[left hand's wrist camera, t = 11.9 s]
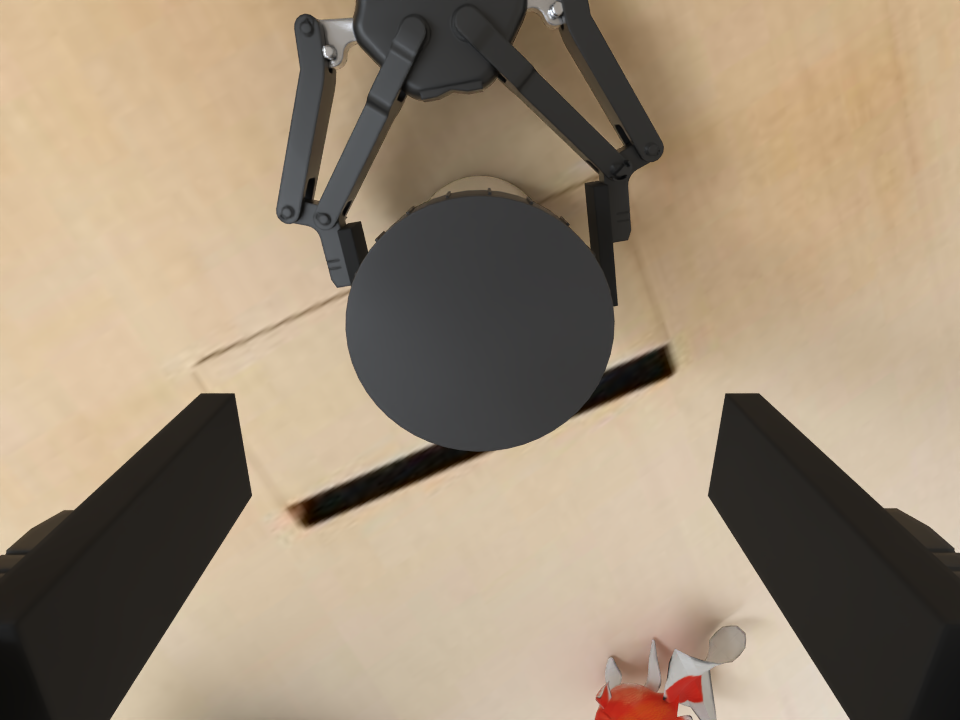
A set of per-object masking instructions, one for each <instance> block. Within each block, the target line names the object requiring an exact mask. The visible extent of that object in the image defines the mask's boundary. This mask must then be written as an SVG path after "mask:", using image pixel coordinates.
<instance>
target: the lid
mask: <svg viewBox="0 0 960 720" xmlns="http://www.w3.org/2000/svg"><path fill="white" fill-rule="evenodd" d="M375 241H376V243H375V244H374V246H373V247H372V248H371V249H370V251H369V252H368V254H367V255H366V257H365V258H364V260H363V261H362V263H361V265H360V267H359V269H358V270H357V271H356V272H355V278H354V280H353V283H352V286H351V290H350V293H349V296H348V303H347V309H346V337H347V345H348V349H349V353H350V357H351V361H352V364H353V366H354V369H355V371H356V373H357V376H358V378H359V380H360V382H361V383H362V385H363V387H364V389H365V390H366V392H367V393H368V395H369V396H370V397H371V399H372V400H373V401H374V402H375V404H376V405H377V406H378V407H379V408H380V409H381V410H382V411H383V412H384V413H385V414H386V415H387V416H388V417H389V418H390V419H392V420H393V421H394V422H395V423H397V424H398V425H399V426H400V427H402V428H404V429H405V430H407V431H408V432H410V433H412V434H413V435H415V436H417V437H420V438H422V439H424V440H426V441H428V442H431V443H434V444H437V445H440V446H443V447H448V448H453V449H458V450H466V451H495V450H502V449H508V448H512V447H516V446H520V445H523V444H526V443H529V442H531V441H534V440H536V439H539V438H541V437H543V436H544V435H546V434H548V433H550V432H552V431H554V430H555V429H556V428H558V427H559V426H561V425H562V424H564V423H565V422H566V421H567V420H569V419H570V418H571V417H572V416H573V415H574V414H575V413H576V412H577V411H578V410H579V409H580V408H581V407H582V406H583V405H584V404H585V402H586V401H587V400H588V399H589V398H590V396H591V395H592V393H593V392H594V390H595V389H596V387H597V386H598V384H599V382H600V380H601V378H602V376H603V374H604V372H605V369H606V366H607V363H608V360H609V357H610V354H611V349H612V344H613V339H614V322H615V321H614V310H613V302H612V298H611V290H610V289H609V286H608V283H607V281H606V278H605V275H604V273H603V271H602V269H601V267H600V265H599V263H598V262H597V260H596V258H595V256H596V255H595V253H594V252H593V251H592V250H591V249H590V248H589V247H588V246H587V245H586V244H585V243H584V242H583V241H582V240H581V239H580V238H579V237H578V235H577V234H576V233H575V232H574V231H573V230H572V229H571V228H570V227H569V223H568V222H567V221H566V220H565V219H564V218H563V217H560V218H559V217H557V216H556V215H555V214H553V213H552V212H551V211H549V210H548V209H546V208H544V207H542V206H541V205H539V204H537V203H535V202H533V201H532V200H531V199H530V197H527V198H523V197H521V196H518V195H514V194H510V193H505V192H501V191H491V188H488V190H466V191H460V192H455V193H451V191H448V192H447V194H446V195H443V196H440V197H437V198H434V199H431V200H429V201H427V202H425V203H423V204H421V205H419V206H417V207H416V208H415V207H414V206H413V207H411V208H410V209H409V210H408V211H407V212H406V214H405V215H404V216H402V217H401V218H400V219H399V220H398V221H397V222H396V223H394V224H393V225H392V226H391V227H390V228H389V229H388V230H387V231H386V232H385V231H383V232H382V233H381V234H380V235H379V236H378V237H377V238H376V239H375Z"/></svg>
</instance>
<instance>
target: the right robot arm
mask: <svg viewBox="0 0 960 720" xmlns="http://www.w3.org/2000/svg"><path fill="white" fill-rule="evenodd" d="M526 12H535V13H537V14H538V15H539V16H540V17H541V19H542V21H543V23H544V24H545V25H546V27H548V28H550V29H556V28H559V31H560V34H561V37H562V39H563V41H564V43H565V45H566V47H567V49H568V51H569V52H570V54H571V56H572V58H573V59H574V61H575V63H576V64H577V66H578V68H579V70H580V71H581V73H582V75H583V76H584V78H585V80H586V81H587V83H588V85H589V87H590V88H591V90H592V92H593V93H594V95H595V97H596V99H597V100H598V102H599V104H600V105H601V107H602V109H603V110H604V112H605V114H606V116H607V117H608V119H609V121H610V122H611V124H612V126H613V128H614V129H615V131H616V133H617V134H618V136H619V138H620V139H621V141H622V143H623V145H624V146H623V147H621V148H620V149H618V150H616V149H615V148H614V147H613V146H612V145H611V144H609V143H608V142H607V141H606V140H605V139H604V138H603V137H602V136H601V135H600V134H599V133H598V132H597V131H596V130H595V129H594V128H593V127H592V126H591V125H590V124H589V123H588V122H587V121H586V120H585V119H584V118H583V117H582V116H581V115H580V114H579V113H578V112H577V111H576V110H575V109H574V108H573V107H572V106H571V105H570V104H569V103H568V102H567V101H566V100H565V99H564V98H563V97H562V96H561V95H560V94H559V93H558V92H557V91H556V90H555V89H554V88H553V87H552V86H551V85H550V84H549V83H548V82H547V81H546V80H545V79H543V78H542V77H541V76H540V75H539V74H538V72H537V71H536V70H535V69H534V67H533V66H532V65H531V64H530V63H529V62H528V61H527V60H526V59H525V58H524V57H523V56H522V55H521V54H520V53H519V52H518V51H517V50H516V49H515V48H514V47H513V46H512V44H513V42H514V40H515V38H516V35H517V33H518V31H519V29H520V27H521V25H522V22H523V20H524V18H525V15H526ZM294 30H295V37H296V43H297V50H298V57H299V63H300V74H299V79H298V85H297V91H296V97H295V103H294V109H293V115H292V120H291V126H290V132H289V138H288V144H287V150H286V155H285V161H284V167H283V173H282V179H281V185H280V190H279V196H278V202H277V208H276V214H277V216H278V218H279V219H280V220H281V221H282V222H284V223H286V224H292V223H295V224H301V225H306V226H310V227H312V228H314V229H315V230H316V231H317V232H318V234H319V236H320V238H321V242H322V246H323V250H324V254H325V257H326V261H327V265H328V269H329V272H330V276H331V280H332V281H333V283H334V284H335V285H336V287H337V288H339V287H345V286H352V283H353V280H354V278H355V272H356V271H357V270H358V269H359V267H360V265H361V263H362V261H363V260H364V258H365V257H366V255H367V254H368V249H367V245H366V241H365V237H364V232H363V228H362V224H361V221H359V222H353V223H348V224H346V222H345V220H346V218H347V217H346V215H347V213H348V211H349V209H350V207H351V205H352V203H353V201H354V199H355V197H356V195H357V193H358V191H359V189H360V187H361V185H362V183H363V181H364V179H365V177H366V175H367V173H368V171H369V169H370V167H371V165H372V163H373V161H374V159H375V157H376V155H377V153H378V151H379V149H380V147H381V145H382V143H383V141H384V139H385V137H386V135H387V133H388V131H389V129H390V127H391V125H392V123H393V121H394V119H395V117H396V116H397V114H398V113H399V111H400V109H401V107H402V105H403V103H404V101H405V99H406V97H407V95H409V96H410V97H412V98H414V99H416V100H420V101H424V102H429V101H434V100H439V99H441V98H443V97H445V96H447V95H449V94H451V93H462V94H473V93H478V92H483V90H484V89H486V88H488V87H489V86H490V85H491V84H492V83H493V82H494V81H495V80H496V78H498V79H499V80H500V81H501V82H502V83H503V84H504V85H505V86H506V87H507V88H508V89H509V90H510V91H511V92H513V93H514V94H515V95H517V96H518V97H519V98H520V99H521V100H522V101H523V102H524V103H525V104H526V105H527V106H528V107H529V108H530V109H531V110H532V111H533V112H534V113H535V114H536V115H538V116H539V117H540V118H541V119H542V120H543V121H544V122H545V123H546V124H547V125H548V126H549V127H550V128H551V129H552V130H553V131H554V132H555V133H556V134H557V135H558V136H559V137H560V138H561V139H562V140H564V141H565V142H566V143H567V144H568V145H569V146H570V147H571V148H572V149H573V150H574V151H575V152H576V153H577V154H578V155H579V156H580V157H581V158H582V159H583V160H584V161H585V162H586V163H587V164H588V165H590V166H591V167H592V168H593V169H594V170H595V171H596V172H597V173H598V174H599V181H595V182H589V183H585V193H586V203H587V214H588V224H589V235H590V246H591V250H592V251H593V252H594V253H595V255H596V256H595V258H596V260H597V262H598V263H599V265H600V267H601V269H602V271H603V273H604V275H605V278H606V281H607V283H608V286H609V289H610V290H611V298H612V302H613V306H618V302H617V289H616V277H615V264H614V252H613V242H619V241H626V240H628V238H629V235H630V232H631V222H630V207H629V193H628V181H629V178H630V176H631V175H632V173H633V172H634V171H636V170H637V169H639V168H641V167H642V166H644V165H646V164H648V163H650V162H654V161H656V160H658V159H659V158H660V157H661V156H662V153H663V149H664V146H663V143H662V141H661V139H660V137H659V135H658V134H657V132H656V130H655V128H654V127H653V125H652V123H651V121H650V119H649V118H648V116H647V114H646V112H645V111H644V109H643V107H642V105H641V103H640V102H639V100H638V98H637V96H636V95H635V93H634V91H633V89H632V88H631V86H630V84H629V82H628V80H627V79H626V77H625V75H624V73H623V72H622V70H621V68H620V66H619V64H618V63H617V61H616V59H615V57H614V56H613V54H612V52H611V50H610V48H609V47H608V45H607V43H606V41H605V40H604V38H603V36H602V34H601V32H600V31H599V29H598V27H597V25H596V24H595V22H594V20H593V18H592V16H591V15H590V9H589V4H588V0H356V7H355V12H354V16H353V18H344V19H328V20H318V19H316V18H314V17H313V16H311V15H309V14H303V15H300V16H299V17H298V18H297V19H296V21H295V25H294ZM356 44H358V45H359V46H360V47H361V48H362V49H363V50H364V51H365V52H366V53H367V54H368V55H369V56H370V57H371V59H372V60H373V61H374V62H375V63H376V64H377V65H378V66H379V67H380V68H381V69H380V71H379V73H378V75H377V77H376V79H375V81H374V83H373V85H372V88H371V90H370V92H369V94H368V97H367V102H366V105H365V107H364V109H363V111H362V113H361V115H360V117H359V119H358V122H357V124H356V126H355V128H354V130H353V132H352V134H351V136H350V138H349V140H348V143H347V145H346V147H345V149H344V151H343V153H342V155H341V157H340V159H339V161H338V163H337V166H336V168H335V170H334V172H333V174H332V176H331V178H330V180H329V182H328V184H327V187H326V189H325V191H324V193H323V195H322V197H321V199H320V201H317V200H314V195H315V190H316V185H317V180H318V175H319V169H320V164H321V159H322V154H323V149H324V143H325V138H326V133H327V128H328V123H329V118H330V112H331V107H332V102H333V97H334V92H335V84H336V69H340V68H342V67H343V66H344V65H345V64H346V61H347V55H348V51H349V49H350V48H351V47H352V46H353V45H356Z"/></svg>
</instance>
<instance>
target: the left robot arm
mask: <svg viewBox="0 0 960 720" xmlns="http://www.w3.org/2000/svg"><path fill="white" fill-rule="evenodd" d="M251 496H252V493H251V487H250V481H249V475H248V469H247V463H246V458H245V452H244V446H243V440H242V434H241V428H240V422H239V417H238V411H237V405H236V399H235V393H201V394H200V395H199V396H198V397H197V398H195V399H194V400H193V401H192V402H191V403H190V404H189V405H188V406H187V407H186V408H185V409H184V410H182V411H181V412H180V413H179V414H178V415H177V416H176V417H175V418H174V419H173V420H172V421H171V422H169V423H168V424H167V425H166V426H165V427H164V428H163V429H162V430H161V431H160V432H159V433H158V434H156V435H155V436H154V437H153V438H152V439H151V440H150V441H149V442H148V443H147V444H146V445H144V446H143V447H142V448H141V449H140V450H139V451H138V452H137V453H136V454H135V455H134V456H133V457H131V458H130V459H129V460H128V461H127V462H126V463H125V464H124V465H123V466H122V467H121V468H120V469H118V470H117V471H116V472H115V473H114V474H113V475H112V476H111V477H110V478H109V479H108V480H106V481H105V482H104V483H103V484H102V485H101V486H100V487H99V488H98V489H97V490H96V491H95V492H93V493H92V494H91V495H90V496H89V497H88V498H87V499H86V500H85V501H84V502H83V503H82V504H80V505H79V506H78V507H77V508H76V509H75V510H64V511H62V512H60V513H58V514H57V515H55V516H53V517H51V518H49V519H48V520H46V521H44V522H42V523H41V524H39V525H37V526H35V527H34V528H32V529H30V530H29V531H28V532H27V533H26V534H25V535H24V536H22V537H21V538H20V539H19V540H18V541H17V542H16V543H14V544H13V545H12V546H11V547H10V548H9V549H8V550H6V554H5V555H1V556H0V720H110V719H111V717H112V716H113V714H114V712H115V711H116V709H117V708H118V706H119V704H120V703H121V701H122V700H123V698H124V697H125V695H126V693H127V692H128V690H129V689H130V687H131V686H132V684H133V682H134V681H135V679H136V678H137V676H138V675H139V673H140V671H141V670H142V668H143V667H144V665H145V664H146V662H147V660H148V659H149V657H150V656H151V654H152V652H153V651H154V649H155V648H156V646H157V645H158V643H159V641H160V640H161V638H162V637H163V635H164V634H165V632H166V630H167V629H168V627H169V626H170V624H171V623H172V621H173V619H174V618H175V616H176V615H177V613H178V612H179V610H180V608H181V607H182V605H183V604H184V602H185V600H186V599H187V597H188V596H189V594H190V593H191V591H192V589H193V588H194V586H195V585H196V583H197V582H198V580H199V578H200V577H201V575H202V574H203V572H204V571H205V569H206V567H207V566H208V564H209V563H210V561H211V559H212V558H213V556H214V555H215V553H216V552H217V550H218V548H219V547H220V545H221V544H222V542H223V541H224V539H225V537H226V536H227V534H228V533H229V531H230V530H231V528H232V526H233V525H234V523H235V522H236V520H237V519H238V517H239V515H240V514H241V512H242V511H243V509H244V507H245V506H246V504H247V503H248V501H249V500H250V498H251ZM708 496H709V498H710V500H711V501H712V503H713V504H714V506H715V507H716V509H717V511H718V512H719V514H720V515H721V517H722V519H723V520H724V522H725V523H726V525H727V526H728V528H729V530H730V531H731V533H732V534H733V536H734V537H735V539H736V541H737V542H738V544H739V545H740V547H741V548H742V550H743V552H744V553H745V555H746V556H747V558H748V560H749V561H750V563H751V564H752V566H753V567H754V569H755V571H756V572H757V574H758V575H759V577H760V578H761V580H762V582H763V583H764V585H765V586H766V588H767V589H768V591H769V593H770V594H771V596H772V597H773V599H774V600H775V602H776V604H777V605H778V607H779V608H780V610H781V612H782V613H783V615H784V616H785V618H786V619H787V621H788V623H789V624H790V626H791V627H792V629H793V630H794V632H795V634H796V635H797V637H798V638H799V640H800V641H801V643H802V645H803V646H804V648H805V649H806V651H807V652H808V654H809V656H810V657H811V659H812V660H813V662H814V664H815V665H816V667H817V668H818V670H819V671H820V673H821V675H822V676H823V678H824V679H825V681H826V682H827V684H828V686H829V687H830V689H831V690H832V692H833V693H834V695H835V697H836V698H837V700H838V701H839V703H840V704H841V706H842V708H843V709H844V711H845V712H846V714H847V716H848V717H849V719H850V720H960V553H955V551H954V548H953V547H952V546H951V545H950V544H949V543H948V542H946V541H945V540H944V539H943V538H942V537H941V536H940V535H938V534H937V533H936V532H935V531H934V530H933V529H931V528H930V527H929V526H927V525H925V524H924V523H922V522H920V521H918V520H916V519H915V518H913V517H911V516H909V515H908V514H906V513H904V512H902V511H900V510H899V509H897V508H883V507H882V506H881V505H880V504H878V503H877V502H876V501H875V500H874V499H873V498H872V497H871V496H870V495H869V494H868V493H867V492H865V491H864V490H863V489H862V488H861V487H860V486H859V485H858V484H857V483H856V482H855V481H854V480H852V479H851V478H850V477H849V476H848V475H847V474H846V473H845V472H844V471H843V470H842V469H840V468H839V467H838V466H837V465H836V464H835V463H834V462H833V461H832V460H831V459H830V458H829V457H827V456H826V455H825V454H824V453H823V452H822V451H821V450H820V449H819V448H818V447H817V446H816V445H814V444H813V443H812V442H811V441H810V440H809V439H808V438H807V437H806V436H805V435H804V434H802V433H801V432H800V431H799V430H798V429H797V428H796V427H795V426H794V425H793V424H792V423H791V422H789V421H788V420H787V419H786V418H785V417H784V416H783V415H782V414H781V413H780V412H779V411H778V410H776V409H775V408H774V407H773V406H772V405H771V404H770V403H769V402H768V401H767V400H766V399H765V398H763V397H762V396H761V395H760V394H759V393H725V399H724V405H723V411H722V417H721V422H720V428H719V434H718V440H717V446H716V452H715V458H714V463H713V469H712V475H711V481H710V487H709V493H708Z"/></svg>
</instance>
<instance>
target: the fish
mask: <svg viewBox="0 0 960 720" xmlns="http://www.w3.org/2000/svg"><path fill="white" fill-rule="evenodd" d="M745 645H746V634H745V632H744V631H742V630H741V629H740V628H739V627H738V626H725V627H722V628H721V629H719V630H718V631H717V632H716V633H715V634H714V635H713V637H712V638H711V639H710V640H709V652H708V656H707V658H706V660H705V661H702V660H699V659H696V658H693V657H690V656H688V655H686V654H685V653H683V652H681V651H679V650H677V649H675V650H674V652H673V655H672V657H671V659H670V662H669V667H668V675H667V681H666V685H665V690H664V693H657V691H658V690H659V688H660V685H661V674H660V669H659V664H658V659H657V653H656V646H655V641H654V640H652V645H651V651H650V656H649V667H648V678H647V682H646V684H645V686H642V685H638V684H632V683H626V684H621V680H622V674H621V672H620V670H619V668H618V667H617V665H616V663H615V661H614V659H613V658H612V657H610V658H609V659H608V662H607V665H606V670H605V681H606V685H604V686H603V687H602V688H601V690H600V691H599V692H598V694H597V696H596V701H597V702H598V703H599V704H600V705H599V708H598V710H597V713H596V717H595V720H692V717H691V716H689V715H685V716H680V717H677V711H678V703H680V704H682V705H685V706H688V707H691V708H692V709H693V711H694V712H695V714H696V715H697V716H698V718H699V719H700V720H716V711H715V704H714V697H713V690H712V683H711V676H710V669H711V668H713V667H715V666H717V665H720V664H723V663H728V662H733V661H734V660H735V659H736V658H737V657H738V656H740V654H741V653H742V652H743V650H744V649H745Z"/></svg>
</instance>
